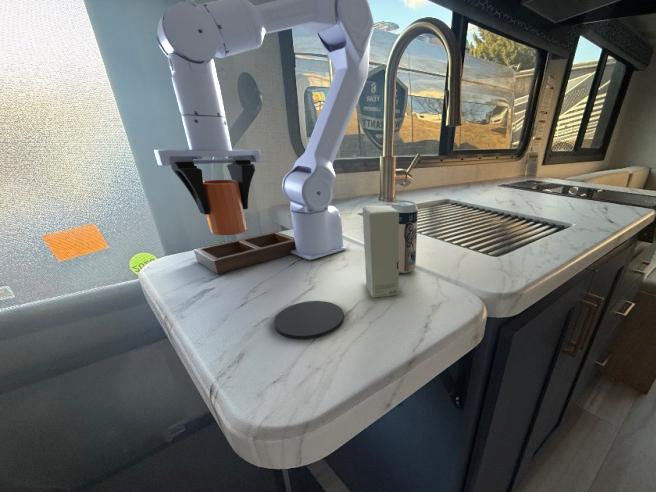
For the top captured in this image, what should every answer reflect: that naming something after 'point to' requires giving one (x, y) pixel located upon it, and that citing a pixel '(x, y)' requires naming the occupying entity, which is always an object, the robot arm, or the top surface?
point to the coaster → (308, 319)
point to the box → (381, 250)
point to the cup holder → (245, 251)
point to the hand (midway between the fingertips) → (225, 210)
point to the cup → (224, 207)
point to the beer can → (407, 234)
